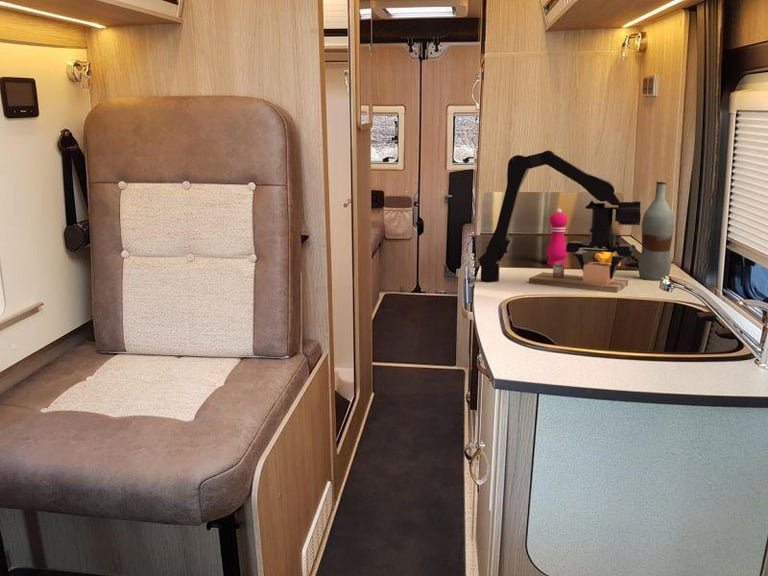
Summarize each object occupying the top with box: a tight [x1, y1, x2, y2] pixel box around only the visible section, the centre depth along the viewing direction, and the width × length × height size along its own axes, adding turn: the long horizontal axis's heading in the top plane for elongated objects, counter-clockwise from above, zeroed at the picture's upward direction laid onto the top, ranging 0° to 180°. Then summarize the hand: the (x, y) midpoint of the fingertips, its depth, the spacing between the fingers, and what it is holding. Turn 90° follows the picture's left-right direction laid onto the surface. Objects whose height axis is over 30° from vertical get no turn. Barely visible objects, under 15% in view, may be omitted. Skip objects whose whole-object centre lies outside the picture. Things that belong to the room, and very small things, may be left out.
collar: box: [582, 261, 615, 284], centre depth 183 cm, size 7×7×5 cm
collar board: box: [528, 262, 629, 293], centre depth 186 cm, size 12×26×6 cm, turn 56°
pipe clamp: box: [594, 252, 621, 267], centre depth 221 cm, size 12×4×6 cm, turn 2°
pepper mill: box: [545, 208, 568, 267], centre depth 218 cm, size 7×7×20 cm
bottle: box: [638, 180, 675, 281], centre depth 192 cm, size 9×9×30 cm
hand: (598, 277), depth 183 cm, fingers closed on collar, 7 cm apart
